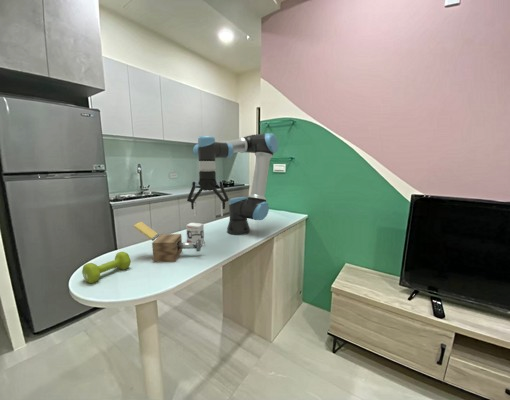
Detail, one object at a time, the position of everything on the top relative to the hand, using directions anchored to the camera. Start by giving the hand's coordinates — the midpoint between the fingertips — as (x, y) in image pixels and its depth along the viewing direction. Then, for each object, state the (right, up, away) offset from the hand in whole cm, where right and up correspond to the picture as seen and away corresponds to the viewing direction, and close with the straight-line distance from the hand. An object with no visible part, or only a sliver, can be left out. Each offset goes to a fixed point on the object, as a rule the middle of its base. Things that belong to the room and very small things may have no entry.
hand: (208, 215), depth 107 cm
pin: (-11, -18, +2) cm, 21 cm away
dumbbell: (-38, -24, -15) cm, 47 cm away
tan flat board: (-30, -8, -1) cm, 31 cm away
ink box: (-11, -18, +19) cm, 28 cm away
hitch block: (-20, -20, +2) cm, 29 cm away
